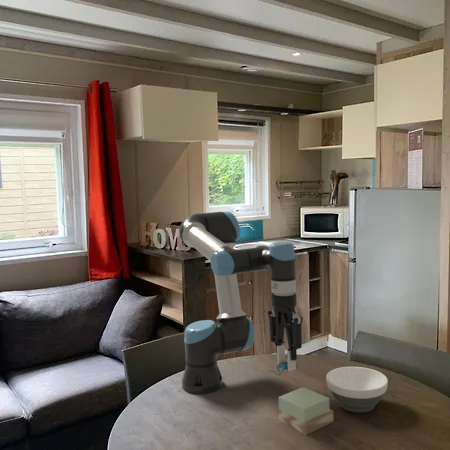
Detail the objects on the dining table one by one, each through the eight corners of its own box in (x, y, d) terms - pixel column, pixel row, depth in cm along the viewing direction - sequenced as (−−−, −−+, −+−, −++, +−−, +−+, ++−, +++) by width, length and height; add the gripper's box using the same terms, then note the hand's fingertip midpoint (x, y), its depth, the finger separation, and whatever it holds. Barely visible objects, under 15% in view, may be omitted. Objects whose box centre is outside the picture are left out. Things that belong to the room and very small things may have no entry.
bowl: (391, 397, 164) (391, 370, 163) (384, 424, 146) (383, 394, 146) (333, 389, 172) (333, 363, 172) (320, 414, 155) (319, 385, 154)
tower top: (278, 409, 152) (278, 396, 151) (303, 398, 158) (303, 387, 158) (304, 422, 143) (304, 409, 142) (329, 410, 149) (329, 398, 149)
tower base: (278, 421, 152) (278, 408, 152) (305, 409, 159) (305, 397, 159) (306, 436, 143) (305, 423, 142) (333, 423, 150) (333, 410, 149)
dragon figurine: (293, 375, 142) (301, 357, 148) (270, 364, 144) (279, 346, 150) (288, 389, 146) (296, 370, 152) (266, 378, 148) (275, 360, 154)
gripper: (256, 291, 152) (259, 363, 154) (293, 299, 138) (297, 379, 140) (274, 287, 157) (277, 357, 158) (312, 295, 143) (315, 372, 144)
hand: (286, 367), depth 149 cm, fingers closed on dragon figurine, 4 cm apart
